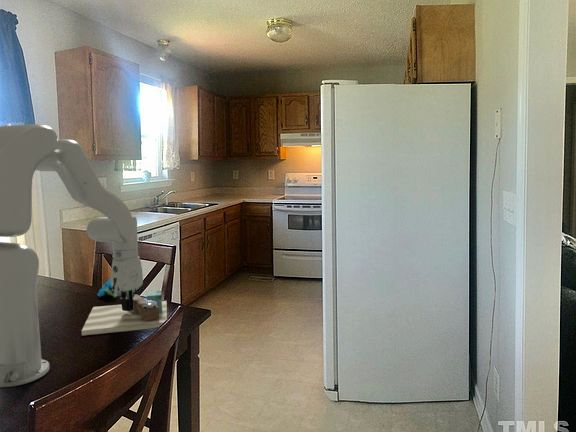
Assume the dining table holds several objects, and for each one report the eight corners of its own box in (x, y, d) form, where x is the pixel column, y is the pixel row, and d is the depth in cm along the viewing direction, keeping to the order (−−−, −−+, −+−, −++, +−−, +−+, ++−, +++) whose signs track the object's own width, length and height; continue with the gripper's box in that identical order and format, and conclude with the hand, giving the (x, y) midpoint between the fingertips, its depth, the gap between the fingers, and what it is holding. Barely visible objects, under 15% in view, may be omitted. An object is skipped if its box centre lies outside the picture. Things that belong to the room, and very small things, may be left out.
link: (159, 318, 136) (158, 307, 136) (145, 321, 134) (145, 309, 133) (139, 303, 150) (138, 293, 150) (126, 306, 148) (126, 296, 147)
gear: (97, 288, 171) (115, 269, 171) (109, 297, 173) (127, 279, 174) (94, 300, 161) (114, 280, 161) (107, 309, 163) (126, 290, 163)
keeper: (162, 312, 143) (161, 294, 142) (147, 313, 142) (146, 296, 141) (162, 307, 148) (161, 290, 147) (148, 308, 146) (147, 291, 146)
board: (167, 326, 134) (167, 322, 134) (81, 335, 128) (81, 330, 128) (166, 304, 155) (166, 300, 155) (93, 311, 149) (93, 307, 149)
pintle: (156, 320, 135) (156, 304, 135) (143, 322, 134) (142, 306, 134) (157, 316, 139) (156, 300, 138) (143, 317, 138) (143, 302, 137)
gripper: (119, 259, 132) (121, 318, 133) (150, 250, 146) (151, 304, 147) (99, 257, 134) (101, 316, 136) (131, 249, 148) (133, 302, 150)
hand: (127, 310), depth 142 cm, fingers closed
